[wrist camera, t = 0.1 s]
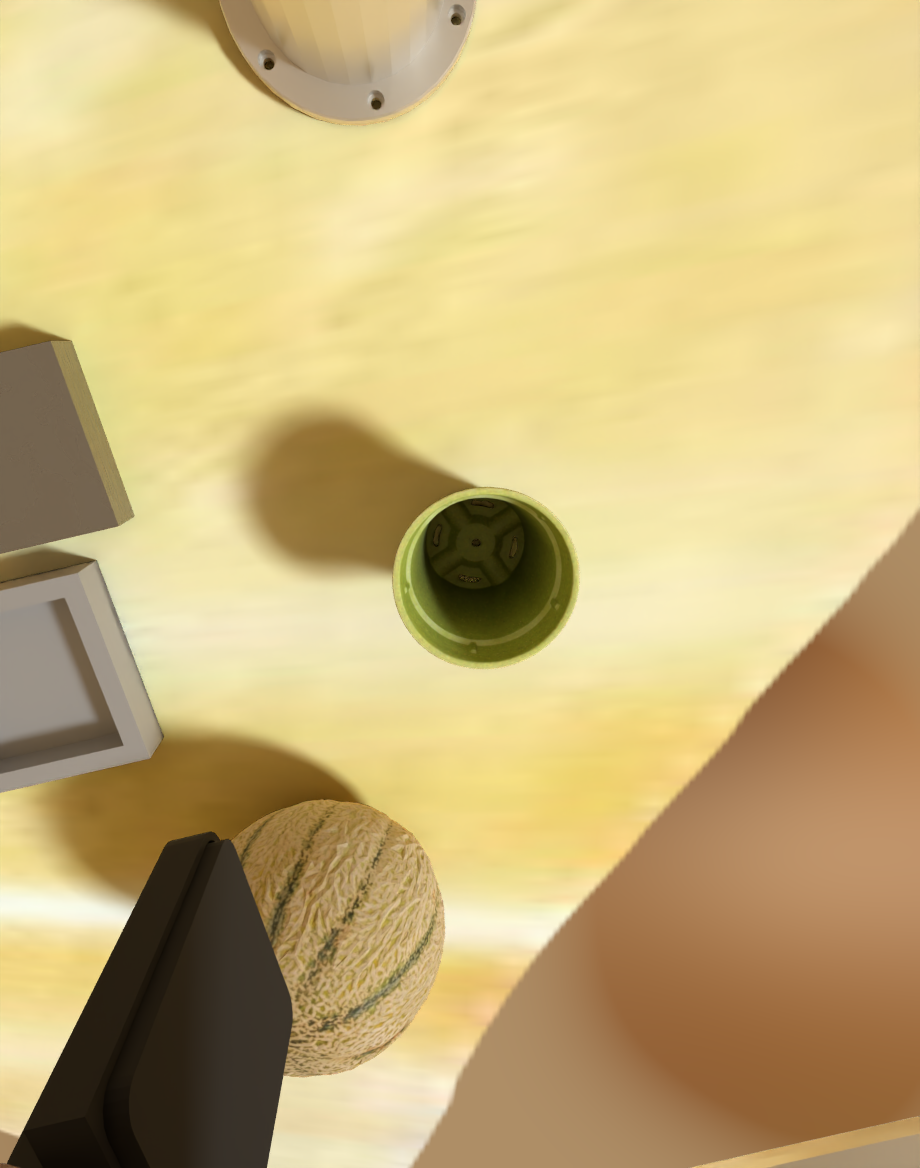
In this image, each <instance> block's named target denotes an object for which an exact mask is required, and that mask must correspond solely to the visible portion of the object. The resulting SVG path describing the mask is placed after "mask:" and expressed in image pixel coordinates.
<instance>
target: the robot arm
mask: <svg viewBox="0 0 920 1168" xmlns="http://www.w3.org/2000/svg"><path fill="white" fill-rule="evenodd" d="M219 4H220V7H221V9H222V12H223V15H224V18H225V21H226V23H227V26H228V29H229V32H230V34H231V35H232V37H233V39H234V41H235V43H236V45H237V47H238V49H239V50H240V52H241V54H242V55H243V57H244V58H245V60H246V61H247V63H248V64H249V66H250V67H251V69H252V70H253V72H254V73H255V74H256V75H257V76H258V77H259V78H260V80H261V81H262V82H263V83H264V84H265V85H266V86H267V87H268V88H269V89H270V90H271V91H272V92H273V93H274V94H275V95H277V96H278V97H279V98H281V99H282V100H283V101H285V102H286V103H287V104H289V105H290V106H292V107H293V108H295V109H297V110H299V111H301V112H303V113H305V114H307V115H309V116H311V117H313V118H315V119H319V120H323V121H327V122H331V123H335V124H339V125H360V126H364V125H369V124H375V123H380V122H386V121H388V120H391V119H393V118H396V117H398V116H400V115H403V114H405V113H408V112H409V111H411V110H412V109H414V108H415V107H416V106H418V105H419V104H421V103H422V102H424V101H425V100H427V99H428V98H429V97H430V96H431V95H432V94H433V93H434V92H435V91H436V90H437V89H438V87H439V86H440V85H441V84H442V83H443V82H444V81H445V80H446V78H447V77H448V75H449V74H450V72H451V71H452V69H453V68H454V66H455V64H456V63H457V61H458V60H459V58H460V55H461V53H462V51H463V48H464V46H465V43H466V41H467V39H468V36H469V33H470V29H471V25H472V21H473V17H474V12H475V6H476V0H219ZM453 17H458V18H460V20H461V23H460V24H459V25H453V24H452V22H451V19H452V18H453ZM268 61H272V62H274V67H273V69H271V70H267V69H265V64H266V62H268ZM375 100H378V101H380V102H381V104H382V105H381V107H380V108H379V109H378V110H376V109H374V108H372V106H371V104H372V102H373V101H375ZM292 1022H293V1010H292V1002H291V997H290V993H289V990H288V988H287V985H286V982H285V980H284V977H283V974H282V972H281V969H280V966H279V964H278V961H277V958H276V956H275V953H274V950H273V948H272V945H271V942H270V940H269V937H268V934H267V932H266V929H265V926H264V923H263V921H262V918H261V915H260V913H259V910H258V907H257V905H256V902H255V899H254V897H253V894H252V891H251V889H250V886H249V883H248V881H247V878H246V875H245V873H244V870H243V867H242V865H241V862H240V859H239V857H238V854H237V851H236V849H235V847H234V844H233V843H232V842H231V840H229V839H225V840H221V841H220V839H219V838H218V836H217V835H216V834H215V833H213V832H207V833H202V834H198V835H194V836H190V837H185V838H181V839H177V840H172V841H170V842H168V843H167V844H166V846H165V847H164V849H163V851H162V853H161V855H160V857H159V859H158V861H157V863H156V865H155V867H154V869H153V871H152V873H151V875H150V877H149V879H148V881H147V883H146V885H145V887H144V889H143V891H142V893H141V895H140V897H139V899H138V901H137V903H136V905H135V907H134V909H133V911H132V913H131V915H130V917H129V919H128V921H127V923H126V925H125V927H124V929H123V931H122V933H121V935H120V937H119V939H118V941H117V943H116V945H115V947H114V949H113V951H112V953H111V955H110V957H109V959H108V961H107V963H106V965H105V967H104V969H103V971H102V973H101V975H100V977H99V979H98V981H97V983H96V985H95V987H94V989H93V991H92V993H91V995H90V997H89V999H88V1001H87V1003H86V1005H85V1007H84V1009H83V1011H82V1013H81V1015H80V1017H79V1019H78V1021H77V1023H76V1025H75V1027H74V1029H73V1032H72V1034H71V1036H70V1038H69V1040H68V1042H67V1044H66V1046H65V1048H64V1050H63V1052H62V1054H61V1056H60V1058H59V1060H58V1062H57V1064H56V1066H55V1068H54V1070H53V1072H52V1074H51V1076H50V1078H49V1080H48V1082H47V1084H46V1086H45V1088H44V1090H43V1092H42V1094H41V1096H40V1098H39V1100H38V1102H37V1104H36V1106H35V1108H34V1110H33V1112H32V1114H31V1116H30V1118H29V1120H28V1122H27V1124H26V1126H25V1128H24V1130H23V1132H22V1134H21V1136H20V1138H19V1140H18V1142H17V1144H16V1146H15V1148H14V1150H13V1152H12V1154H11V1156H10V1158H9V1160H8V1162H7V1164H5V1163H0V1168H267V1164H268V1158H269V1152H270V1147H271V1141H272V1136H273V1130H274V1124H275V1119H276V1113H277V1108H278V1102H279V1097H280V1091H281V1085H282V1080H283V1074H284V1069H285V1063H286V1058H287V1052H288V1046H289V1041H290V1035H291V1030H292ZM691 1168H920V1116H918V1117H913V1118H909V1119H904V1120H899V1121H895V1122H891V1123H886V1124H882V1125H878V1126H873V1127H869V1128H864V1129H859V1130H855V1131H850V1132H846V1133H842V1134H837V1135H833V1136H829V1137H824V1138H820V1139H815V1140H810V1141H806V1142H802V1143H797V1144H793V1145H788V1146H784V1147H780V1148H775V1149H770V1150H766V1151H761V1152H757V1153H753V1154H748V1155H744V1156H739V1157H735V1158H731V1159H726V1160H722V1161H717V1162H713V1163H709V1164H705V1165H700V1166H695V1167H691Z"/></svg>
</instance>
